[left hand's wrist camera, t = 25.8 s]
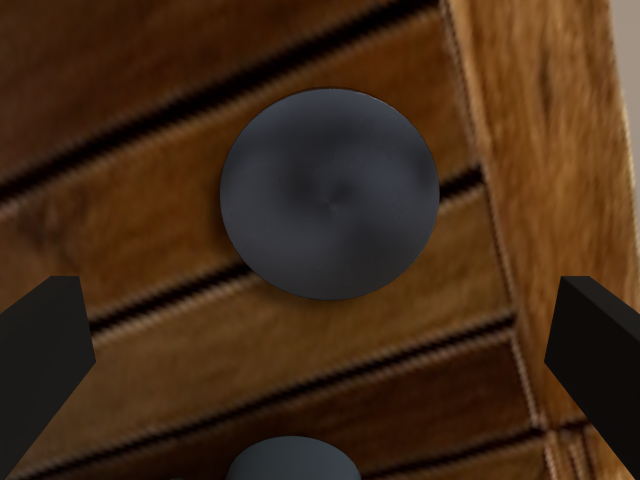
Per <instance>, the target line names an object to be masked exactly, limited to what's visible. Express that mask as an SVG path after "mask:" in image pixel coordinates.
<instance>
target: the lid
mask: <svg viewBox="0 0 640 480" xmlns="http://www.w3.org/2000/svg"><path fill="white" fill-rule="evenodd" d="M439 196H440V193H439V179H438V174H437V169H436V165H435V163H434V160H433V157H432V154H431V152H430V150H429V148H428V146H427V144H426V142H425V140H424V139H423V137H422V136H421V135H420V133H419V132H418V130H417V129H416V128H415V127H414V126H413V125H412V123H411V122H410V121H409V120H408V119H407V118H406V117H405V116H403V115H402V114H401V113H400V112H398V111H397V110H396V109H395V108H393V107H392V106H390V105H389V104H387V103H386V102H384V101H382V100H380V99H379V98H377V97H375V96H372V95H370V94H368V93H365V92H362V91H359V90H355V89H351V88H344V87H336V86H328V87H315V88H309V89H304V90H301V91H297V92H294V93H291V94H289V95H287V96H285V97H283V98H280V99H278V100H277V101H275V102H274V103H272V104H271V105H269V106H268V107H266V108H265V109H264V110H262V111H261V112H260V113H259V114H258V115H256V116H255V117H254V118H253V119H252V120H251V121H250V122H249V123H248V124H247V125H246V126H245V128H244V129H243V130H242V131H241V132H240V134H239V135H238V137H237V138H236V140H235V141H234V143H233V145H232V147H231V149H230V151H229V153H228V155H227V157H226V160H225V164H224V167H223V170H222V175H221V181H220V208H221V214H222V219H223V223H224V226H225V229H226V231H227V234H228V237H229V239H230V241H231V243H232V244H233V246H234V248H235V250H236V251H237V253H238V254H239V255H240V257H241V258H242V259H243V261H244V262H245V263H246V264H247V265H248V266H249V267H250V268H251V269H252V270H253V271H254V272H255V273H256V274H257V275H259V276H260V277H261V278H262V279H264V280H265V281H267V282H268V283H270V284H271V285H273V286H275V287H277V288H279V289H281V290H283V291H285V292H288V293H291V294H293V295H296V296H300V297H304V298H309V299H316V300H342V299H350V298H354V297H358V296H362V295H365V294H368V293H370V292H373V291H375V290H377V289H379V288H381V287H383V286H385V285H387V284H389V283H390V282H391V281H393V280H394V279H396V278H397V277H399V276H400V275H401V274H402V273H403V272H404V271H406V270H407V269H408V268H409V267H410V266H411V264H412V263H413V262H414V261H415V260H416V259H417V258H418V256H419V255H420V253H421V252H422V250H423V249H424V247H425V246H426V244H427V242H428V240H429V238H430V236H431V234H432V231H433V228H434V225H435V222H436V218H437V213H438V209H439Z"/></svg>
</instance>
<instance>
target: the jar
mask: <svg viewBox="0 0 640 480" xmlns="http://www.w3.org/2000/svg"><path fill="white" fill-rule="evenodd" d="M225 480H361V476H360V474H359V471H358V469H357V468H356V466H355V464H354V463H353V462H352V461H351V460H350V458H349V457H348V456H346V455H345V454H344V453H343V452H342V451H340V450H339V449H337V448H336V447H334V446H332V445H330V444H328V443H325V442H323V441H320V440H317V439H313V438H308V437H302V436H282V437H275V438H270V439H267V440H263V441H261V442H258V443H256V444H254V445H252V446H250V447H248V448H247V449H246V450H244V451H243V452H241V453H240V454H239V455H238V456H237V457H236V458H235V460H234V461H233V462H232V464H231V465H230V467H229V469H228V472H227V474H226V478H225Z"/></svg>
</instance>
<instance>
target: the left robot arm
mask: <svg viewBox="0 0 640 480" xmlns="http://www.w3.org/2000/svg"><path fill="white" fill-rule="evenodd" d="M95 363H96V359H95V354H94V349H93V344H92V339H91V334H90V329H89V324H88V319H87V314H86V309H85V304H84V299H83V294H82V289H81V284H80V279H79V276H50V277H49V278H48V279H46V280H45V281H44V282H42V283H41V284H40V285H38V286H37V287H36V288H34V289H33V290H32V291H30V292H29V293H28V294H26V295H25V296H24V297H22V298H21V299H20V300H18V301H17V302H16V303H14V304H13V305H12V306H10V307H9V308H8V309H6V310H5V311H4V312H3V313H1V314H0V480H5V479H6V477H7V476H8V475H9V473H10V472H11V471H12V470H13V468H14V467H15V466H16V464H17V463H18V462H19V461H20V459H21V458H22V457H23V455H24V454H25V453H26V452H27V450H28V449H29V448H30V446H31V445H32V444H33V443H34V441H35V440H36V439H37V437H38V436H39V435H40V433H41V432H42V431H43V430H44V428H45V427H46V426H47V424H48V423H49V422H50V421H51V419H52V418H53V417H54V415H55V414H56V413H57V412H58V410H59V409H60V408H61V406H62V405H63V404H64V403H65V401H66V400H67V399H68V397H69V396H70V395H71V394H72V392H73V391H74V390H75V388H76V387H77V386H78V384H79V383H80V382H81V381H82V379H83V378H84V377H85V375H86V374H87V373H88V372H89V370H90V369H91V368H92V366H93V365H94V364H95ZM544 363H545V364H546V365H547V366H548V368H549V369H550V370H551V372H552V373H553V374H554V375H555V377H556V378H557V379H558V381H559V382H560V383H561V384H562V386H563V387H564V388H565V390H566V391H567V392H568V394H569V395H570V396H571V397H572V399H573V400H574V401H575V403H576V404H577V405H578V406H579V408H580V409H581V410H582V412H583V413H584V414H585V415H586V417H587V418H588V419H589V421H590V422H591V423H592V424H593V426H594V427H595V428H596V430H597V431H598V432H599V433H600V435H601V436H602V437H603V439H604V440H605V441H606V443H607V444H608V445H609V446H610V448H611V449H612V450H613V452H614V453H615V454H616V455H617V457H618V458H619V459H620V461H621V462H622V463H623V464H624V466H625V467H626V468H627V470H628V471H629V472H630V473H631V475H632V476H633V477H634V479H635V480H640V314H639V313H637V312H636V311H635V310H634V309H632V308H631V307H630V306H628V305H627V304H626V303H624V302H623V301H622V300H620V299H619V298H618V297H616V296H615V295H614V294H612V293H611V292H610V291H608V290H607V289H606V288H604V287H603V286H602V285H600V284H599V283H598V282H596V281H595V280H594V279H592V278H591V277H590V276H561V279H560V284H559V289H558V294H557V299H556V304H555V309H554V314H553V319H552V324H551V329H550V334H549V339H548V344H547V349H546V354H545V359H544Z"/></svg>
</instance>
